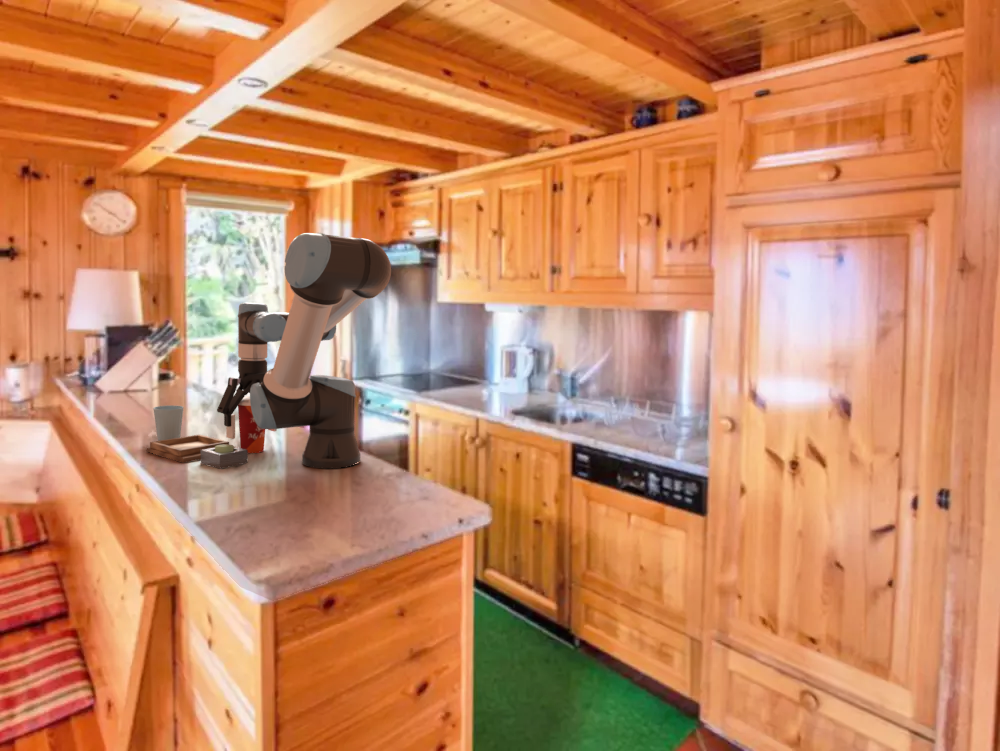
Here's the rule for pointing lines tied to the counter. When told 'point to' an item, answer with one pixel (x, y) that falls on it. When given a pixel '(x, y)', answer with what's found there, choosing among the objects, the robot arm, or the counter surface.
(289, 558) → the counter surface
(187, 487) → the counter surface
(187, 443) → the wooden tray
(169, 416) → the cup
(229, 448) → the button
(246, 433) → the coffee cup
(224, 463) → the button housing
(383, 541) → the counter surface
